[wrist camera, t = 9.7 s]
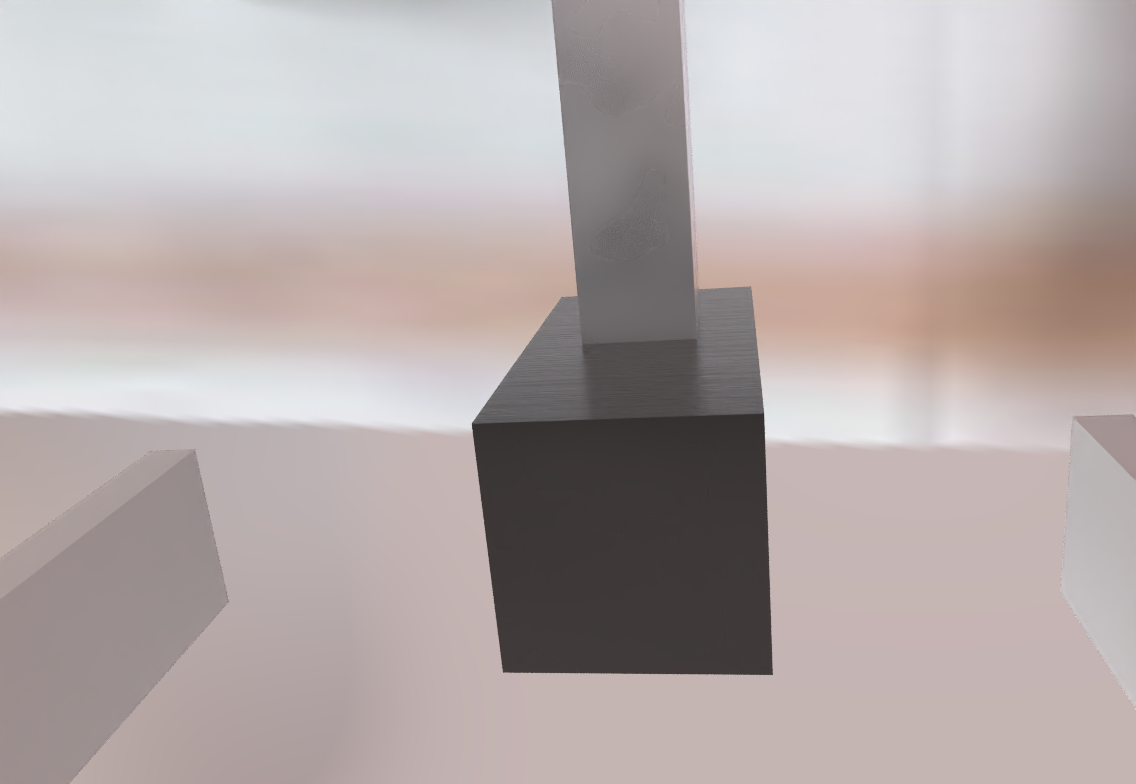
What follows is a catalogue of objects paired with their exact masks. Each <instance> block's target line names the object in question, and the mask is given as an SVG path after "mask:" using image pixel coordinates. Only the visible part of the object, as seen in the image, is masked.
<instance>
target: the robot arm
mask: <svg viewBox="0 0 1136 784" xmlns="http://www.w3.org/2000/svg"><path fill="white" fill-rule="evenodd" d="M1069 464H1070V465H1069V478H1068V492H1067V493H1068V494H1067V506H1066V521H1065V536H1064V551H1063V564H1062V578H1061V594H1062V596H1063V597H1064V599H1065V600H1066V602H1067V603H1068V605H1069V607H1070V608H1071V610H1072V611H1073V613H1074V614H1075V616H1076V617H1077V619H1078V621H1079V622H1080V624H1081V625H1082V627H1083V628H1084V630H1085V631H1086V633H1087V635H1088V636H1089V638H1090V639H1091V641H1092V642H1093V644H1094V645H1095V647H1096V648H1097V650H1098V652H1099V653H1100V655H1101V656H1102V658H1103V660H1104V661H1105V663H1106V664H1107V666H1108V667H1109V669H1110V670H1111V672H1112V674H1113V675H1114V677H1115V678H1116V680H1117V681H1118V683H1119V684H1120V686H1121V687H1122V689H1123V690H1124V692H1125V694H1126V695H1127V697H1128V698H1129V700H1130V702H1131V703H1132V705H1133V706H1134V708H1135V709H1136V418H1135V417H1134V416H1133V415H1107V416H1080V417H1073V420H1072V434H1071V449H1070V463H1069ZM228 602H229V600H228V596H227V591H226V587H225V583H224V578H223V573H222V569H221V565H220V560H219V555H218V551H217V547H216V542H215V538H214V533H213V529H212V524H211V520H210V515H209V511H208V506H207V502H206V497H205V493H204V488H203V484H202V479H201V475H200V471H199V466H198V461H197V457H196V452H195V450H194V449H193V450H166V451H150V452H149V453H147V454H146V455H144V456H143V457H142V458H140V459H139V460H137V461H136V462H135V463H133V464H132V465H130V466H129V467H128V468H126V469H125V470H123V471H122V472H121V473H119V474H118V475H116V476H115V477H114V478H112V479H111V480H109V481H108V482H106V483H105V484H104V485H102V486H101V487H99V488H98V489H97V490H95V491H94V492H92V493H91V494H90V495H88V496H87V497H86V498H84V499H83V500H81V501H80V502H78V503H77V504H76V505H74V506H73V507H71V508H70V509H69V510H67V511H66V512H64V513H63V514H62V515H60V516H59V517H57V518H56V519H55V520H53V521H52V522H50V523H49V524H47V525H46V526H45V527H43V528H42V529H40V530H39V531H38V532H36V533H35V534H33V535H32V536H31V537H29V538H28V539H27V540H25V541H24V542H22V543H21V544H19V545H18V546H17V547H15V548H14V549H13V550H11V551H10V552H8V553H7V554H5V555H4V556H3V557H1V558H0V784H69V783H70V782H71V781H72V780H73V779H74V777H75V776H76V775H77V774H78V773H79V772H80V771H81V770H82V769H83V767H84V766H85V765H86V764H87V763H88V762H89V760H90V759H91V758H92V757H93V756H94V755H95V754H96V752H97V751H98V750H99V749H100V748H101V747H102V746H103V745H104V743H105V742H106V741H107V740H108V739H109V738H110V736H111V735H112V734H113V733H114V732H115V731H116V730H117V729H118V728H119V726H120V725H121V724H122V723H123V722H124V721H125V720H126V718H127V717H128V716H129V715H130V714H131V713H132V712H133V710H134V709H135V708H136V707H137V706H138V705H139V704H140V702H141V701H142V700H143V699H144V698H145V697H146V696H147V694H148V693H149V692H150V691H151V690H152V689H153V688H154V686H155V685H156V684H157V683H158V682H159V681H160V680H161V678H162V677H163V676H164V675H165V674H166V673H167V672H168V671H169V669H170V668H171V667H172V666H173V665H174V664H175V663H176V661H177V660H178V659H179V658H180V657H181V655H183V653H184V652H185V651H186V650H187V649H188V648H189V647H190V646H191V644H192V643H193V642H194V641H195V640H196V639H197V637H198V636H199V635H200V634H201V633H202V632H203V631H204V630H205V628H206V627H207V626H208V625H209V624H210V623H211V622H212V620H213V619H214V618H215V617H216V616H217V615H218V614H219V612H220V611H221V610H222V609H223V608H224V607H225V606H226V605H227V603H228Z"/></svg>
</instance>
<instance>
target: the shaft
mask: <svg viewBox="0 0 1136 784" xmlns="http://www.w3.org/2000/svg"><path fill="white" fill-rule="evenodd" d="M552 10H553V22H554V33H555V44H556V56H557V67H558V78H559V90H560V101H561V112H562V123H563V135H564V146H565V157H566V169H567V180H568V191H569V202H570V214H571V225H572V236H573V248H574V259H575V270H576V282H577V293H578V296H576V297H562V298H561V299H560V300H559V302H558V303H557V305H556V306H555V307H554V309H553V310H552V312H551V313H550V314H549V316H548V317H547V319H546V320H545V321H544V323H543V324H542V326H541V327H540V328H539V330H538V331H537V333H536V334H535V335H534V337H533V338H532V340H531V341H530V343H529V344H528V345H527V347H526V348H525V350H524V351H523V352H522V354H521V355H520V357H519V358H518V359H517V361H516V362H515V364H514V365H513V366H512V368H511V369H510V371H509V372H508V373H507V375H506V376H505V378H504V379H503V381H502V382H501V383H500V385H499V386H498V388H497V389H496V390H495V392H494V393H493V395H492V396H491V397H490V399H489V400H488V402H487V403H486V404H485V406H484V407H483V409H482V410H481V411H480V413H479V414H478V416H477V417H476V418H475V420H474V421H473V423H472V429H473V437H474V445H475V453H476V461H477V469H478V476H479V485H480V493H481V501H482V509H483V517H484V524H485V533H486V541H487V548H488V556H489V564H490V572H491V580H492V588H493V596H494V604H495V612H496V619H497V628H498V635H499V644H500V652H501V659H502V668H503V672H511V673H512V672H513V673H522V672H523V673H622V674H737V675H738V674H739V675H740V674H741V675H742V674H743V675H747V674H748V675H773V673H772V671H773V669H772V642H771V641H772V639H771V610H770V580H769V551H768V550H769V548H768V520H767V519H768V518H767V487H766V457H765V426H764V408H763V398H762V388H761V378H760V369H759V359H758V349H757V339H756V329H755V320H754V310H753V300H752V290H751V287H735V288H718V289H700V290H699V281H698V262H697V242H696V223H695V204H694V184H693V165H692V145H691V126H690V107H689V87H688V68H687V48H686V29H685V9H684V0H552Z"/></svg>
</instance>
